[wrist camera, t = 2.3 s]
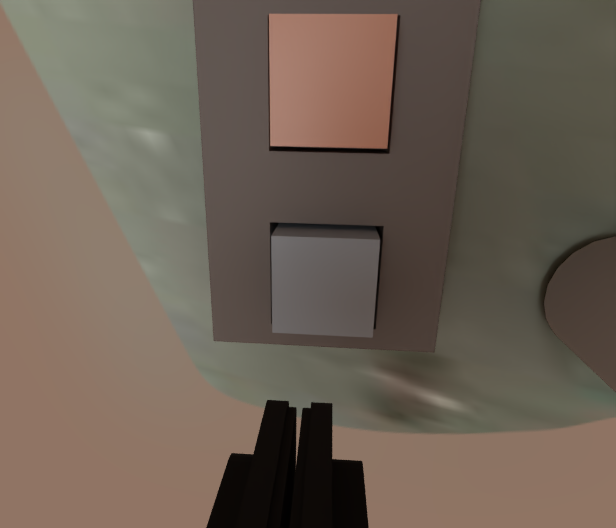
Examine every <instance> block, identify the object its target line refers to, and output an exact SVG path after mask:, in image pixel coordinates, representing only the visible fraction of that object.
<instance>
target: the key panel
mask: <svg viewBox="0 0 616 528" xmlns="http://www.w3.org/2000/svg"><path fill="white" fill-rule="evenodd" d="M480 4H481V0H193V11H194V27H195V43H196V60H197V76H198V92H199V108H200V125H201V141H202V157H203V174H204V190H205V206H206V223H207V239H208V255H209V271H210V288H211V304H212V320H213V337H214V341H224V342H243V343H263V344H282V345H302V346H321V347H340V348H360V349H379V350H398V351H418V352H435V344H436V337H437V329H438V322H439V314H440V307H441V299H442V291H443V284H444V276H445V269H446V261H447V254H448V246H449V238H450V231H451V223H452V216H453V208H454V201H455V193H456V185H457V178H458V170H459V163H460V155H461V148H462V140H463V132H464V125H465V117H466V110H467V102H468V95H469V87H470V79H471V72H472V64H473V57H474V49H475V42H476V34H477V26H478V19H479V11H480ZM269 14H398V15H397V28H396V41H395V54H394V67H393V80H392V93H391V106H390V119H389V132H388V145H387V149H382V148H337V147H293V146H270V67H269ZM279 223H308V224H338V225H368V226H375V227H376V230H377V232H378V235H379V238H380V249H379V262H378V275H377V288H376V302H375V315H374V328H373V338H369V337H349V336H329V335H309V334H289V333H272V260H271V235H272V234H273V232H274V231H275V229H276V227H277V226H278V224H279Z"/></svg>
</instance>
